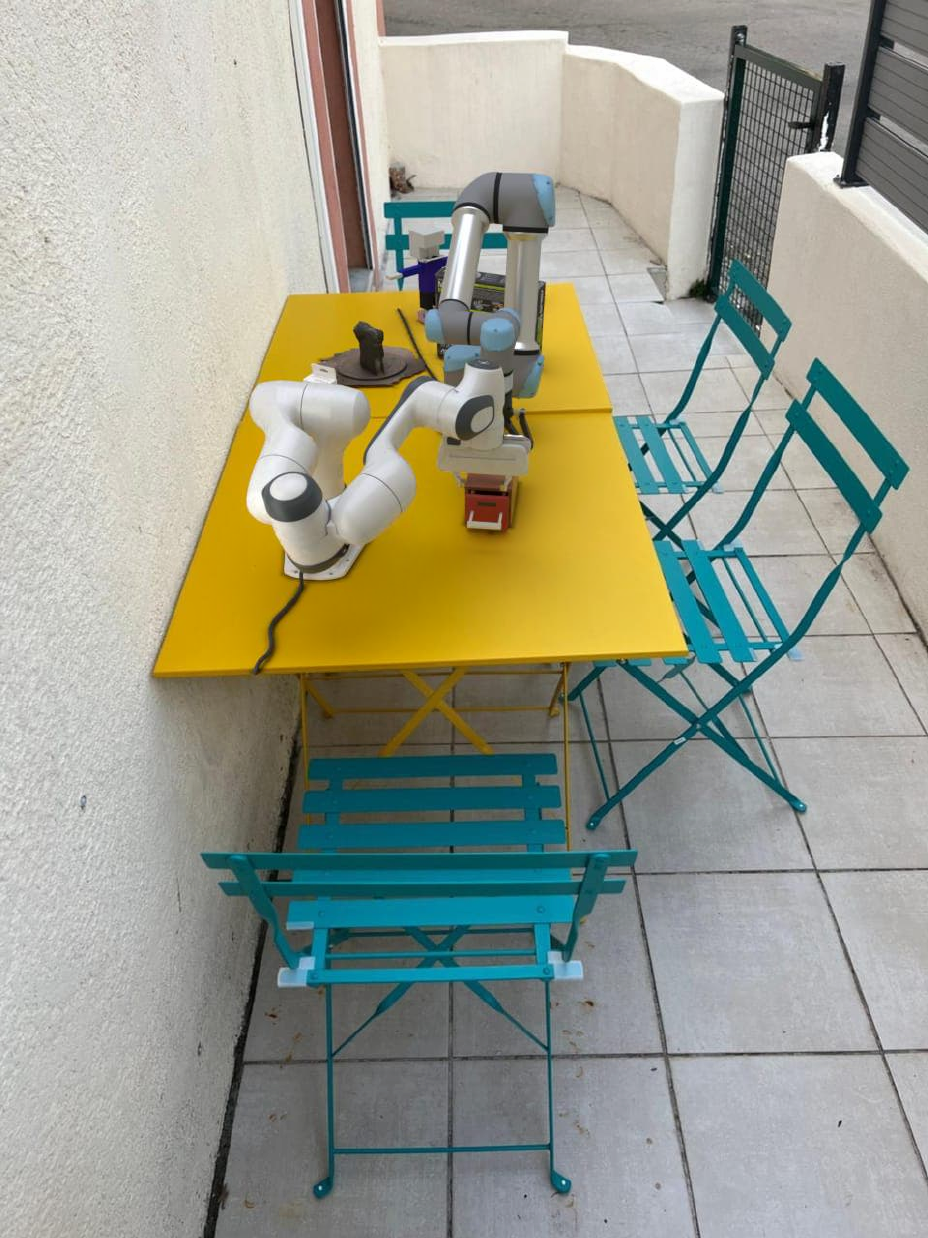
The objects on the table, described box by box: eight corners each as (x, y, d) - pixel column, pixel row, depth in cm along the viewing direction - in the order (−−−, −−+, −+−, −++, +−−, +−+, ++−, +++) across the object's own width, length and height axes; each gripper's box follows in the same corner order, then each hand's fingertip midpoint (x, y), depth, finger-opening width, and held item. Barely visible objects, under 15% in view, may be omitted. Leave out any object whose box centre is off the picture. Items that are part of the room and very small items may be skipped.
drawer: (504, 545, 203) (505, 513, 198) (462, 542, 204) (462, 510, 199) (514, 488, 222) (515, 457, 217) (475, 485, 223) (475, 455, 218)
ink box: (306, 417, 253) (300, 368, 244) (316, 410, 257) (310, 362, 247) (331, 424, 250) (326, 375, 241) (341, 416, 254) (336, 368, 244)
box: (542, 365, 279) (547, 279, 262) (535, 374, 274) (539, 287, 257) (444, 349, 289) (443, 265, 272) (435, 358, 284) (433, 273, 266)
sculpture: (406, 397, 263) (403, 345, 252) (297, 384, 270) (290, 333, 259) (437, 352, 287) (436, 303, 277) (336, 341, 294) (331, 293, 284)
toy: (460, 304, 319) (459, 216, 299) (477, 312, 313) (477, 222, 294) (381, 329, 302) (375, 237, 283) (398, 337, 296) (393, 244, 277)
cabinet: (510, 527, 211) (512, 489, 204) (464, 524, 212) (464, 485, 205) (517, 482, 226) (519, 445, 219) (474, 480, 227) (475, 443, 220)
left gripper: (532, 428, 190) (530, 484, 199) (438, 423, 193) (440, 478, 202) (530, 443, 186) (527, 499, 195) (434, 437, 188) (436, 493, 197)
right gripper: (548, 384, 206) (543, 466, 221) (448, 378, 209) (450, 460, 223) (546, 398, 201) (541, 482, 215) (443, 393, 203) (445, 475, 217)
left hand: (482, 488), depth 198 cm, fingers open, 8 cm apart
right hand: (494, 471), depth 219 cm, fingers closed on cabinet, 11 cm apart
